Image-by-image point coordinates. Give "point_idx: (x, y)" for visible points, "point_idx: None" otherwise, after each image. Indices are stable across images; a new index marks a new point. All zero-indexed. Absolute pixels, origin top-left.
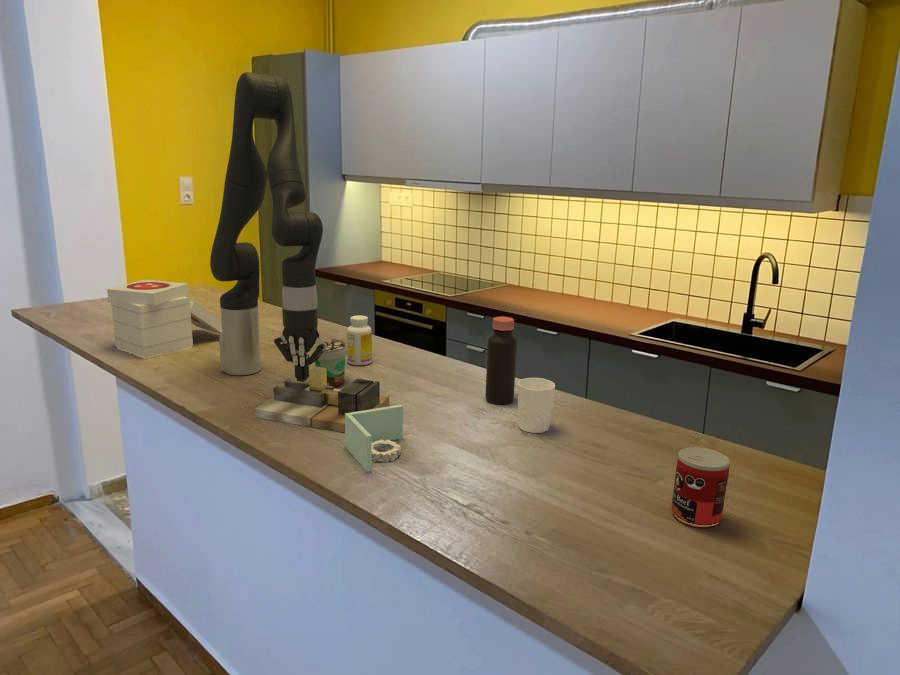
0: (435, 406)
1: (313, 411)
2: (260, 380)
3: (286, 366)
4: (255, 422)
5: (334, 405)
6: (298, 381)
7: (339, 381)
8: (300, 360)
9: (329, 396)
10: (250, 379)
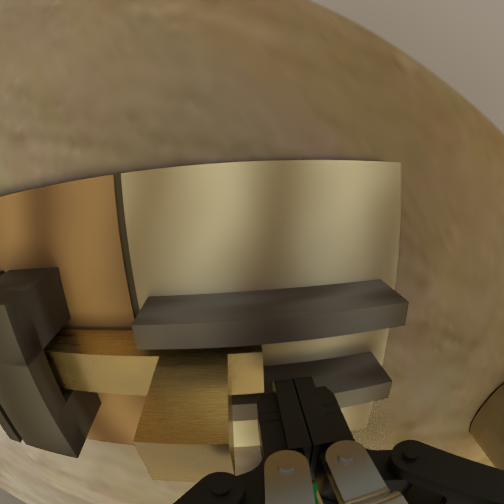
0: None
1: (151, 244)
2: (462, 398)
3: None
4: (355, 121)
5: None
6: None
7: None
8: (307, 483)
9: (123, 349)
10: (481, 388)
